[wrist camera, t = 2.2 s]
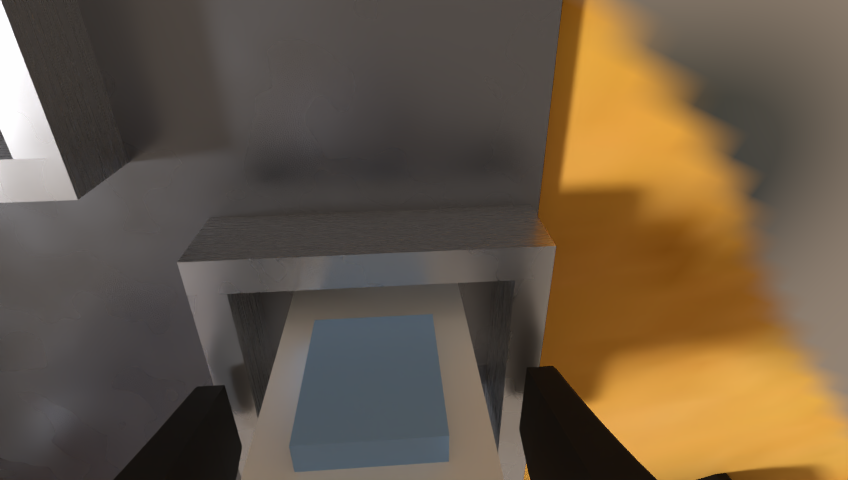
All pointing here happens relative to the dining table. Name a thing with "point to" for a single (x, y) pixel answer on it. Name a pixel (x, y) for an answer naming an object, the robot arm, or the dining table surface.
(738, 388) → the dining table surface
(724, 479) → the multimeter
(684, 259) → the dining table surface
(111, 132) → the panel
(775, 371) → the dining table surface
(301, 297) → the plug
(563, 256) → the dining table surface
